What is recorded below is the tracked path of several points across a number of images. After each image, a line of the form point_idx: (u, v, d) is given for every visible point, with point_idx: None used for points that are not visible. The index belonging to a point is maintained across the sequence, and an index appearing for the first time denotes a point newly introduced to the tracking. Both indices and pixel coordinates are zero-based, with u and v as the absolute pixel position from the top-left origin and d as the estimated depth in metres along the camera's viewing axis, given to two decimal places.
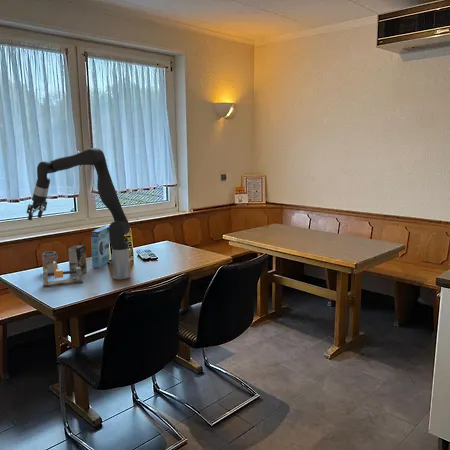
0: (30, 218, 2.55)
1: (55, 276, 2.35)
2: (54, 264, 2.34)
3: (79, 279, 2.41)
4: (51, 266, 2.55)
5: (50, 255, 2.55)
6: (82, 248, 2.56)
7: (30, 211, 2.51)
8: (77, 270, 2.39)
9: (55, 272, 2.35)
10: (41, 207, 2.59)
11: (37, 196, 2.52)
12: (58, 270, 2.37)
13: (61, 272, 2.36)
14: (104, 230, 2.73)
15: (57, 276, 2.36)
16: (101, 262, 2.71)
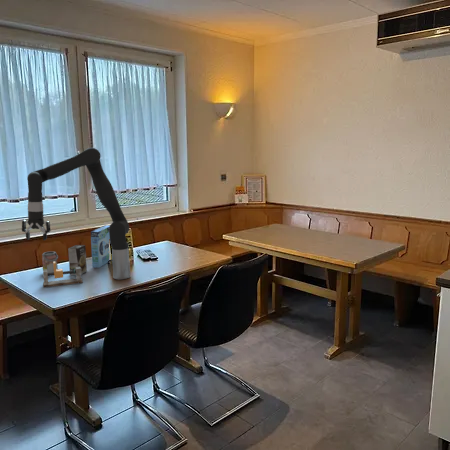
0: None
1: (55, 276, 2.35)
2: (54, 264, 2.34)
3: (79, 279, 2.41)
4: (51, 266, 2.55)
5: (50, 255, 2.55)
6: (82, 248, 2.56)
7: None
8: (77, 270, 2.39)
9: (55, 272, 2.35)
10: None
11: None
12: (58, 270, 2.37)
13: (61, 272, 2.36)
14: (104, 230, 2.73)
15: (57, 276, 2.36)
16: (101, 262, 2.71)
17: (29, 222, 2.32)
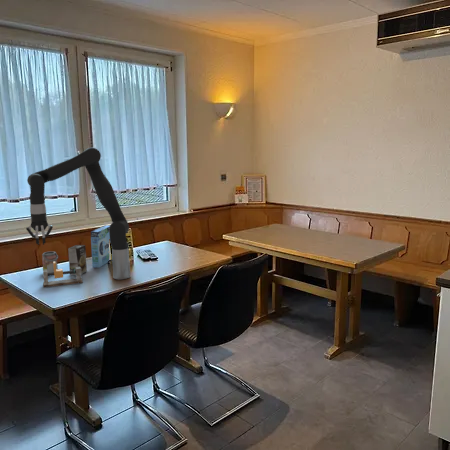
0: None
1: (55, 276, 2.35)
2: (54, 264, 2.34)
3: (79, 279, 2.41)
4: (51, 266, 2.55)
5: (50, 255, 2.55)
6: (82, 248, 2.56)
7: None
8: (77, 270, 2.39)
9: (55, 272, 2.35)
10: None
11: None
12: (58, 270, 2.37)
13: (61, 272, 2.36)
14: (104, 230, 2.73)
15: (57, 276, 2.36)
16: (101, 262, 2.71)
17: (33, 227, 2.27)
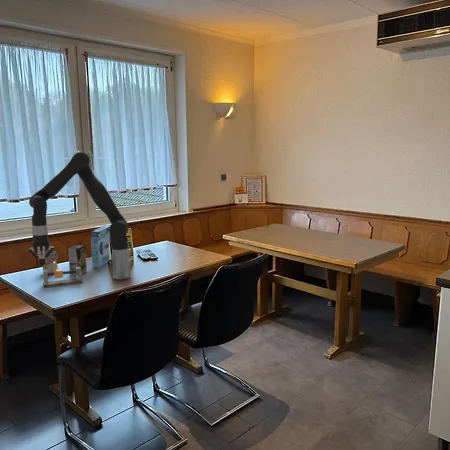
0: None
1: (55, 276, 2.35)
2: (54, 264, 2.34)
3: (79, 279, 2.41)
4: (51, 266, 2.55)
5: (50, 255, 2.55)
6: (82, 248, 2.56)
7: None
8: (77, 270, 2.39)
9: (55, 272, 2.35)
10: None
11: None
12: (58, 270, 2.37)
13: (61, 272, 2.36)
14: (104, 230, 2.73)
15: (57, 276, 2.36)
16: (101, 262, 2.71)
17: (35, 248, 2.30)
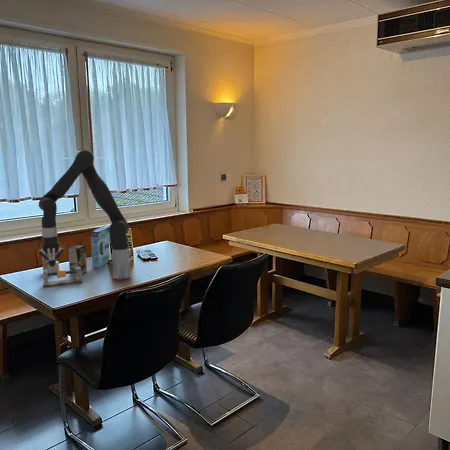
0: None
1: (58, 276, 2.36)
2: (57, 264, 2.35)
3: (79, 279, 2.41)
4: None
5: None
6: (82, 248, 2.56)
7: None
8: (77, 270, 2.39)
9: (58, 272, 2.36)
10: None
11: None
12: (61, 270, 2.37)
13: (64, 272, 2.37)
14: (104, 230, 2.73)
15: (59, 275, 2.36)
16: (101, 262, 2.71)
17: (45, 250, 2.32)
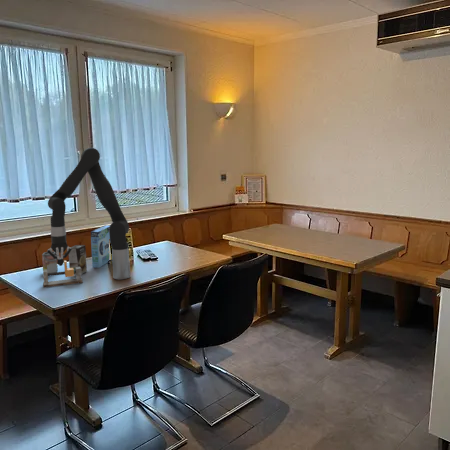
0: None
1: (66, 275, 2.38)
2: (65, 263, 2.36)
3: (79, 279, 2.41)
4: (51, 266, 2.55)
5: (50, 255, 2.55)
6: (82, 248, 2.56)
7: None
8: (77, 270, 2.39)
9: (66, 271, 2.37)
10: None
11: None
12: (69, 269, 2.39)
13: (72, 271, 2.38)
14: (104, 230, 2.73)
15: (67, 274, 2.38)
16: (101, 262, 2.71)
17: (53, 249, 2.33)
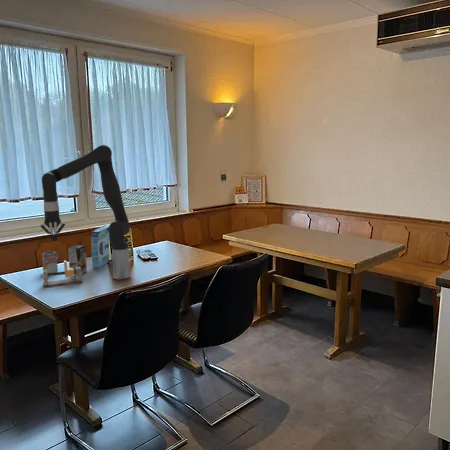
0: None
1: (66, 275, 2.38)
2: (65, 263, 2.36)
3: (79, 279, 2.41)
4: (51, 266, 2.55)
5: (50, 255, 2.55)
6: (82, 248, 2.56)
7: (60, 229, 2.40)
8: (77, 270, 2.39)
9: (66, 271, 2.37)
10: None
11: None
12: (69, 269, 2.39)
13: (72, 271, 2.38)
14: (104, 230, 2.73)
15: (67, 274, 2.38)
16: (101, 262, 2.71)
17: (47, 224, 2.35)
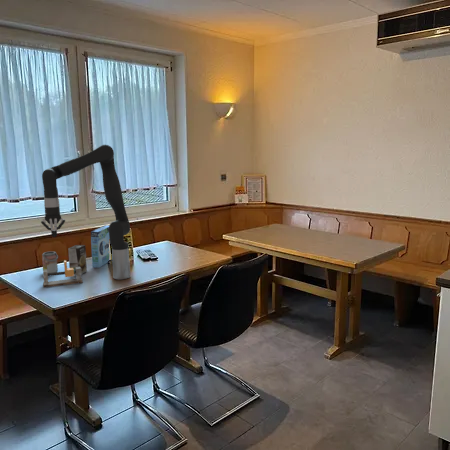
0: None
1: (66, 275, 2.38)
2: (65, 263, 2.36)
3: (79, 279, 2.41)
4: (51, 266, 2.55)
5: (50, 255, 2.55)
6: (82, 248, 2.56)
7: None
8: (77, 270, 2.39)
9: (66, 271, 2.37)
10: None
11: None
12: (69, 269, 2.39)
13: (72, 271, 2.38)
14: (104, 230, 2.73)
15: (67, 274, 2.38)
16: (101, 262, 2.71)
17: (47, 220, 2.36)
